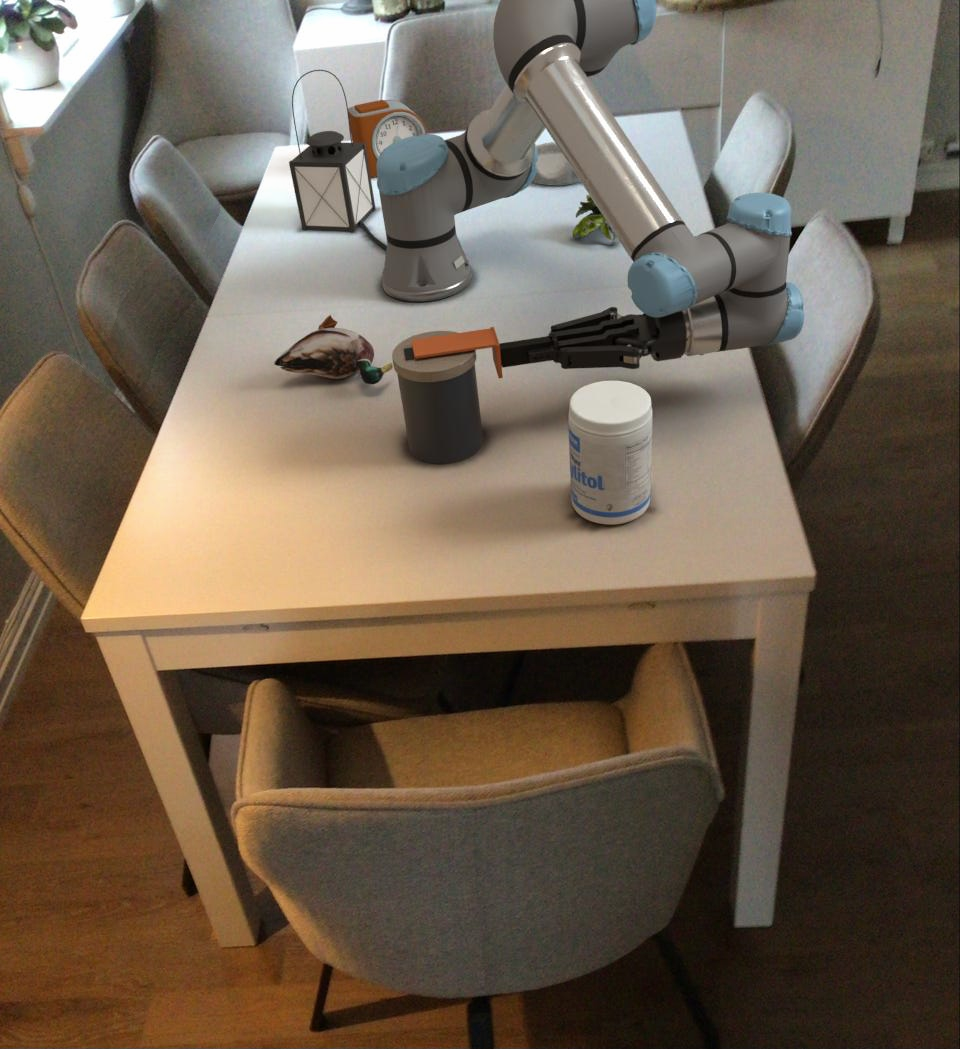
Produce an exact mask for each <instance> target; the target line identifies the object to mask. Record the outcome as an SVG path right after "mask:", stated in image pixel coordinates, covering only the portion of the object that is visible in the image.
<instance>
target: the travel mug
mask: <svg viewBox="0 0 960 1049" xmlns="http://www.w3.org/2000/svg"><path fill="white" fill-rule="evenodd" d="M456 333H458V332H457V331H451V330H433V331H426V332H421V333H418V334H415V335H414V334H413V335H412V336H409V337H408V338H405V339H404V340H402V341H400V342H399V343H398V344H397V345H396V346H395V347H394V349H393V350H392V354H391V360H392V367H393V369H394V371H395V373H396V375H397V382H398V387H399V394H400V399H401V405H402V412H403V419H404V424H405V431H406V432H405V433H406V438H407V443H408V449H409V452H410V454H411V455H412V456H413V457H414V458H415V459H417V460H419V461H421V462H424V463H428V464H433V465H434V464H435V465H447V464H448V465H449V464H453V463H457V462H460V461H464V460H467V459H469V458H470V457H472V456H474V455H475V454H476V453H477V452H478V451H479V450H480V449H481V447H482V446H483V442H484V436H483V435H484V434H483V427H482V426H483V425H482V417H481V408H480V399H479V388H478V380H477V379H478V378H477V370H476V361H477V350H471V351H465V352H458V353H451V354H445V355H438V356H431V357H424V358H418V359H415V357H414V352H413V346H412V341H411V340H415V339H422V338H429V337H435V336H442V335H449V334H456Z"/></svg>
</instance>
